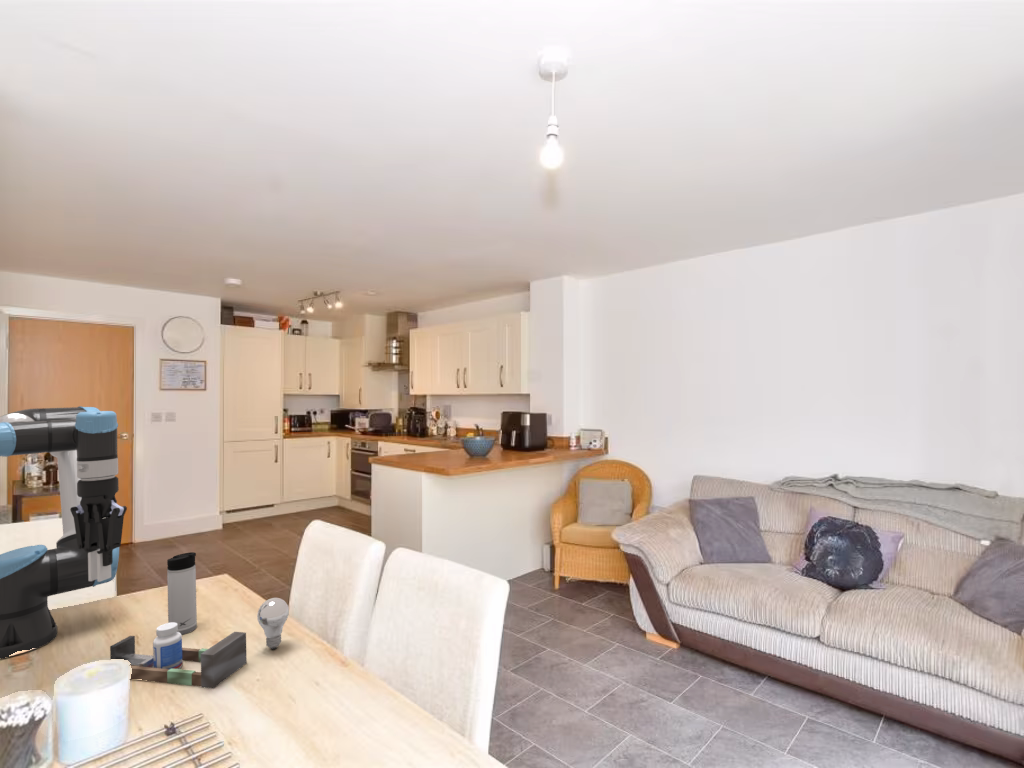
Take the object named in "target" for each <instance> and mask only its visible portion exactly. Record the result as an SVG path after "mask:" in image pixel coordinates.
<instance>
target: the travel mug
mask: <svg viewBox="0 0 1024 768" xmlns="http://www.w3.org/2000/svg"><path fill="white" fill-rule="evenodd" d="M196 555H197V553H196V552H193V551H192V552H191V551H190V552H185V553H180V554H177V555H174V556H173V557H170V558H168V559H167V561H166V563H167V564H166V565H167V569H166V571H167V572H166V573H167V574H166V575H167V577H166V578H167V582H166V583H167V617H168V619H167V621H168V622H167V623H171V622H175V623H177V624H178V630H177V632H179V633H181V635H182V636H183V635H186V634H189V633H192V632H193V631H195V630H196V629H197V627H198V625H197V624H198V622H197V620H198V619H197V618H198V617H197V572H196V571H197V570H196V565H197V564H196V557H197V556H196Z"/></svg>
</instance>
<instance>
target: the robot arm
mask: <svg viewBox="0 0 1024 768" xmlns="http://www.w3.org/2000/svg"><path fill="white" fill-rule="evenodd" d="M118 427H119V423H118V418H117V413H116V412H115V411H113V410H100V409H99V408H97V407H94V406H80V405H79V406H76V407H74V406H73V407H45V408H44V407H43V408H42V407H40V408H37V407H36V408H27V409H22V410H17V411H13V412H10V413H7V414H4V415H1V416H0V457H2V458H3V457H12V456H22V455H23V456H24V455H31V454H33V455H34V454H44V453H49V454H50V455H51V457H54V458H56V459H57V469H58V470H57V471H58V482H59V496H60V509H61V510H60V511H61V525H62V532H63V533H62V536H61V537H60V538H59V539H58V540H57V541H56V547H55V548H52V549H48V547H47V546H46V545H45V544H35V545H28V546H23V547H20V548H15V549H12V550H9V551H5V552H3V553H1V554H0V658H1V659H2V658H3V659H6V658H5V657H8V658H10V657H9V655H11V654H13V653H15V652H17V651H22V650H30V649H32V648H37V649H39V648H41V647H43V646H45V645H48V644H49V643H51V642H53V640H55V639H56V638H57V636H58V625H57V622H56V621H55V619H54V617H53V615H52V612H51V611H50V608H49V604H48V598H49V597H51V596H56V595H59V594H65V593H69V592H73V591H77V590H81V589H86V588H91V587H96V586H98V585H102V584H105V583H106V584H107V583H109V582H112V581H113V580H114V579H115V577H116V575H117V571H118V567H119V560H120V558H119V557H120V547H121V544H122V538H123V537H122V535H123V530H124V529H123V528H124V517H125V514H126V512H127V510H128V507H127V506H126V505H119V504H118V501H117V499H116V494H117V493H118V492H119V477H117V476H116V475H118V474H119V456H118ZM1 659H0V660H1Z"/></svg>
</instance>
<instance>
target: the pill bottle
mask: <svg viewBox="0 0 1024 768" xmlns="http://www.w3.org/2000/svg"><path fill="white" fill-rule="evenodd" d="M177 630H178V624H177V623H175V622H171V623H168V622H166V623H163V624H161V625H158V626H157V627H156V630H155V632H156V637H155V638H154V639H153V643H152V652H153V655H152V656H153V658H154V667H153V668H161V669H171V668H172V669H182V667H183V662H184V661H183V659H182V648H183V638H182V637H183V635H181V633H179V632H177Z"/></svg>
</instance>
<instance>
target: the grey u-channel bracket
mask: <svg viewBox="0 0 1024 768" xmlns="http://www.w3.org/2000/svg"><path fill="white" fill-rule="evenodd" d="M109 648H110V649H109V651H110V652H109V653H110V659H124V660H128V661H129V662H130V663H131V665H130V666H140V667H150V668H154V658H153V655H148V654H138V653H136V637H135V635H129V636H127V637H125V638H124V639H121V640H120V641H118V642H115V643H114V644H112V645H110V646H109ZM110 659H109V660H110Z"/></svg>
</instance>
